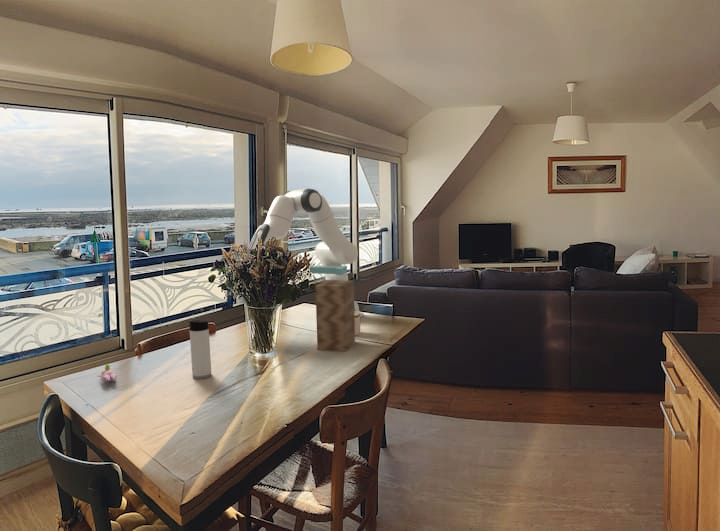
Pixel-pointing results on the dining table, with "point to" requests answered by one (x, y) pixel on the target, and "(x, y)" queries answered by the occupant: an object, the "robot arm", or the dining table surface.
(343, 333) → the stand
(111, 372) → the pink flower
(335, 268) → the t bar
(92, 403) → the dining table surface
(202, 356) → the travel mug
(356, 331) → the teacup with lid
